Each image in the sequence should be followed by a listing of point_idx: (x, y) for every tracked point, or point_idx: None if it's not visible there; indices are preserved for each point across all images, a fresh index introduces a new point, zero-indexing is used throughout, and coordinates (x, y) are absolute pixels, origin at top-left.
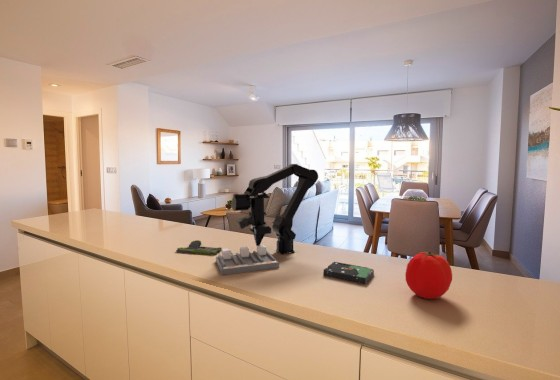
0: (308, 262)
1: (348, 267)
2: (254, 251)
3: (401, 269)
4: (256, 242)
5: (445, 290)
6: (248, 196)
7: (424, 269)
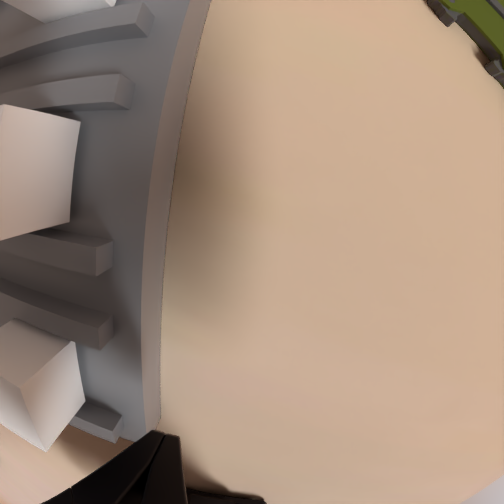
0: (28, 456)
1: None
2: (77, 332)
3: (6, 497)
4: (110, 461)
5: None
6: None
7: None
